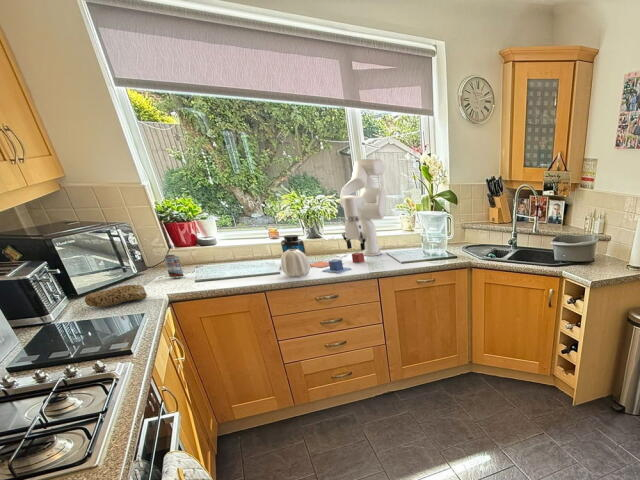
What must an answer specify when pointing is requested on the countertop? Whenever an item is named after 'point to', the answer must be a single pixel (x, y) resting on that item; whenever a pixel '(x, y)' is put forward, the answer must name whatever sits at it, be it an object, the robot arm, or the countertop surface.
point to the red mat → (320, 264)
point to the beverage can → (173, 266)
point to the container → (292, 243)
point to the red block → (358, 257)
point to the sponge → (115, 296)
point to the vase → (295, 263)
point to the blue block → (335, 265)
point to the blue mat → (336, 271)
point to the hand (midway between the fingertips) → (356, 249)
